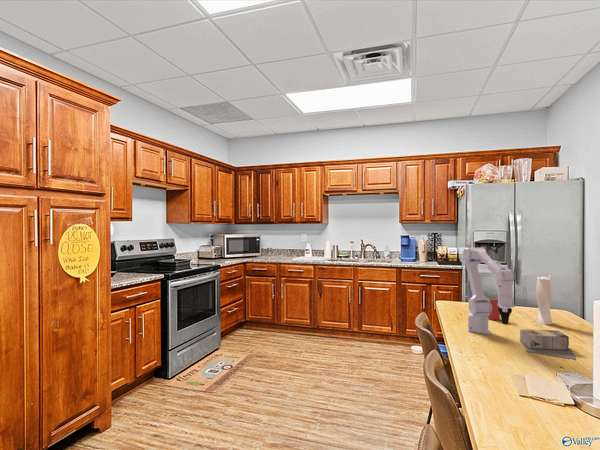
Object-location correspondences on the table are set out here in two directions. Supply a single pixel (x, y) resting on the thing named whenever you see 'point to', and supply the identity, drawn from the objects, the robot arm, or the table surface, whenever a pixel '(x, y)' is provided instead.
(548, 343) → the coffee box
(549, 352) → the mat
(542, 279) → the skyscraper
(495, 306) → the beer can
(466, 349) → the table surface
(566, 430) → the table surface
